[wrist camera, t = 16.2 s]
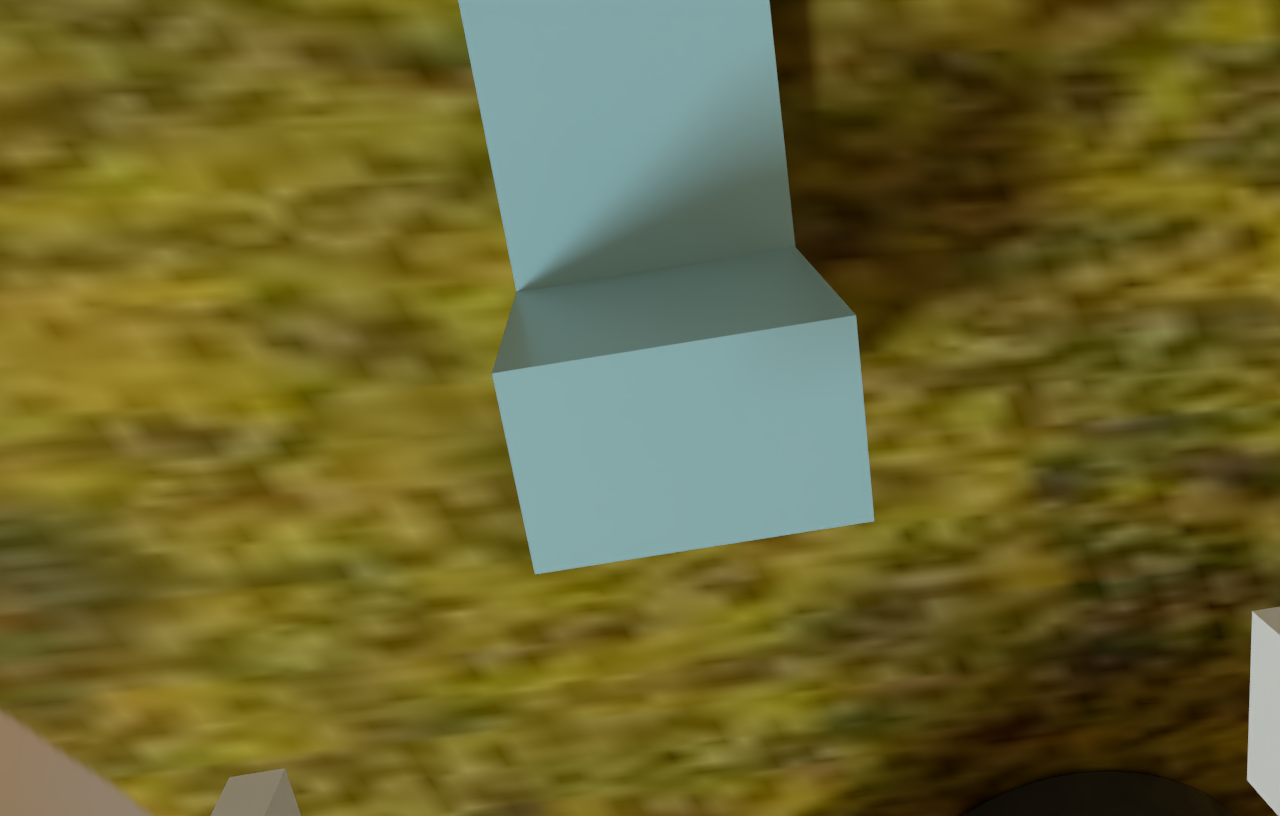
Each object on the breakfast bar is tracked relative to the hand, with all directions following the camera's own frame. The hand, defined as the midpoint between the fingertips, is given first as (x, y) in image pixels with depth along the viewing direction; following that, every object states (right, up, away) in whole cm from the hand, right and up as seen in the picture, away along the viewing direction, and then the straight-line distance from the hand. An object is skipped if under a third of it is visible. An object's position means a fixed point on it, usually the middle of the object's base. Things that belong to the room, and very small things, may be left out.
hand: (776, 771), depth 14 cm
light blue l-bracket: (-2, +15, +15) cm, 22 cm away
